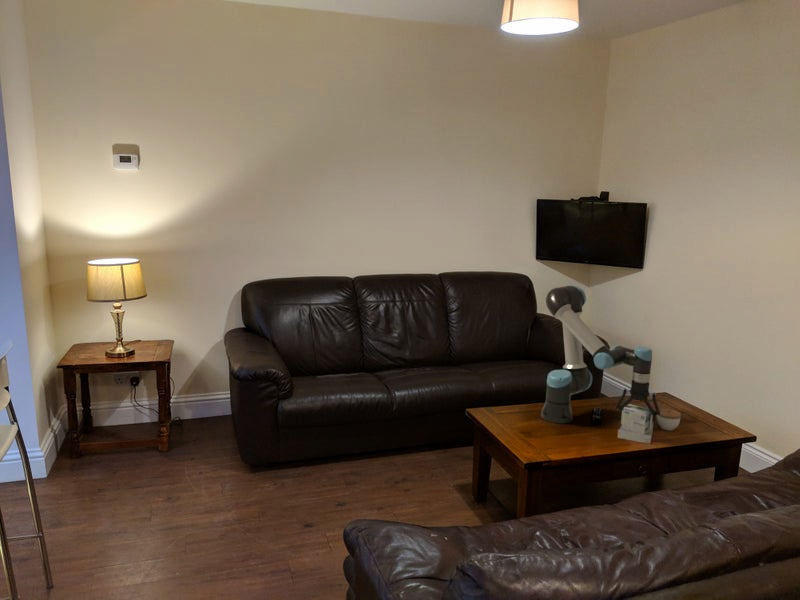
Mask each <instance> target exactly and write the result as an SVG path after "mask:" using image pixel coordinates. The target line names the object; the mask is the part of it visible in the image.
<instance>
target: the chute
mask: <svg viewBox="0 0 800 600" xmlns="http://www.w3.org/2000/svg"><path fill="white" fill-rule="evenodd" d="M653 431H654V427H653V424H652V427H651V429H650V431H649V432H647V433H646V434H642V433H637V432H633V431H629V430H626V429H622V424H621V423H620V428H618V429H617V438H618V439H622V440H627V441H633V442H639V443H644V444H648V445H649V444H651V443H652V442H651V441H652V436H653Z"/></svg>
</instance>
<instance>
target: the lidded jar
mask: <svg viewBox="0 0 800 600" xmlns="http://www.w3.org/2000/svg"><path fill="white" fill-rule="evenodd" d="M659 410H660V415H656V421H657V424H658V426H659V427H660V429H662V430H664V431H674V430H675V429H676V428H677V427H679V425H680V422H681V417H682V414H681V413H680V412H679V411H677V410H674V409H671V408H659Z"/></svg>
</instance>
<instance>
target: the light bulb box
mask: <svg viewBox="0 0 800 600" xmlns="http://www.w3.org/2000/svg"><path fill="white" fill-rule="evenodd" d="M623 409H624V413H623V424H622V429H626V430H629V431H633V432H637V433H642V434H646V433H647V432H649V431H650V429H649V428H650V418H651V411H650V410H649V408H648V407H642V406H640V405H639V406H638V405H634V404H631V403H628V404H627V405H626V406H625V407H624V408H623Z"/></svg>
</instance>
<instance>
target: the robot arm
mask: <svg viewBox="0 0 800 600" xmlns="http://www.w3.org/2000/svg"><path fill="white" fill-rule="evenodd" d="M586 301H587V297H586V292H585V291H584V290H583V289H582V288H581V287H580V286H578V285H565V286H560V287H559V286H558V287H554V288H552V289H550V291H548V293H547V294H546V297H545V304H546V307H547V309H548V311H549V312H550V314H551V315H552V316H553V317H554V318H555V319H556V320H559V321H560V322H561V323H562V324H561V325H562V333H563V334H562V335H563V346H564V357H565V358H564V359H565V364H564V365H562V369H554V370H551V371H550V372H549V373H548V374H547V379H546V389H545V390H546V393H545V402H544V405H543V407H542V409H541V414H540V417H541V418H542V419H543V420H545V421H546V422H549V423H553V424H569V423H570V422H572V421H573V418H574V417H573V416H574V415H573V411H572V407H571V396H572V395H575V394H579V393H581V392H585V391H586V390H588V389H590V387H591V386H592V383H593V374H592V372H590V370H589V369H588V367H587V366H588V365H587V364H586V363H585V362H584V354H583V347H584V348H585V349H586V350H587V351H588V352H589V353H590V355H592V357H593V362H594V366H595V367H596V368H597V369H599V370H609V369H611V368H613V367H618V366H620V365H627V366H629V367H630V366H631V367H632V376H631V386H630V389H628V388H626V387H624V388H623V393H622V395H620V398H619V400H618V401H617V402H616V405H615V408H616V409H619V411H618V414H619V417H620V418H621V420H620V425H621V424H623V413H624V407H625V406H627V405H629V404H631V402H632V401H633V400H634V401H640V402H642V401H643V402H644V403H645V404H646V406H647V409H649V410H650V411H651V418H650V428H649V429H651V427H652V422H654V423H655V421H656V417H657V415H660V410H659V409H660V408H659V404H658V401H657V397H656V395H657V394H656V392H653V393H652V392H650V391H649V390H650V389H649V388H650V381H651V380H650V379H651V369H652V361H653V350H652V349H651V348H650V347H646V346H636V347H635V348H634V349H632V348H628V347H625V346H622V345H616V344H615V345H614V344H613V345H612V346H611V347H610V348H608V347H607V345H605V344H604V342H602V341H601V339H600V338H599V337H598V336H597V334H595V333H594V332H593V330H591V328H590V327H589V326H588V325H587V324H586V323H585V322H584V321H583V320H582V318H580V315H581V314H582V313H583V306H584V305H585V304H586ZM628 394H630V396H629V397H628V399H626V400H625V401H624V402H623V400H624V398H625V397H626V395H628ZM649 397H650V398H651V399H652V402H653V405H652V404H651V402H650V401H649V399H648V398H649ZM622 402H623V403H622ZM653 406H654V407H653ZM654 408H655V409H654Z"/></svg>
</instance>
